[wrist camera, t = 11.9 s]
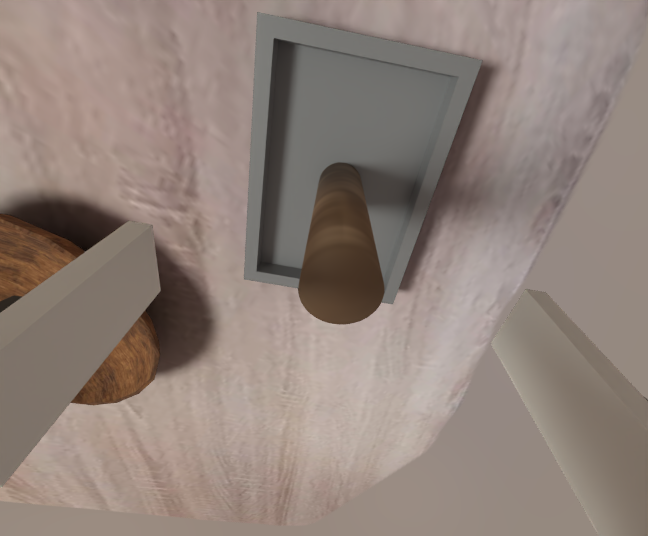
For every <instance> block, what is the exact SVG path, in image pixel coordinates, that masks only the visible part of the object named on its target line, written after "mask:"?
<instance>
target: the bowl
mask: <svg viewBox="0 0 648 536" xmlns="http://www.w3.org/2000/svg"><path fill="white" fill-rule="evenodd" d="M83 253H85V251H84V250H83V249H81V248H80V247H78V246H77V245H75V244H74V243H72V242H71V241H69V240H67V239H65V238H62V237H60V236H58V235H55V234H53V233H51V232H48V231H46V230H44V229H41V228H39V227H37V226H34V225H32V224H29V223H27V222H25V221H22V220H20V219H18V218H15V217H13V216H11V215H5V214H0V301H2V300H4V299H7V298H9V297H11V296H14V295H16V296H22V297H23V296H25V295H26V294H27V293H29V292H30V291H31V290H33V289H34V288H36V287H37V286H38V285H40V284H41V283H43V282H44V281H45V280H47V279H48V278H50V277H51V276H52V275H54V274H55V273H57V272H58V271H59V270H61V269H62V268H64V267H65V266H66V265H68V264H69V263H71V262H72V261H73V260H75V259H76V258H78V257H79V256H80V255H82V254H83ZM159 357H160V351H159V340H158V337H157V334H156V331H155V329H154V326H153V323H152V320H151V318H150V317H149V315H148V314H147V312H146V311H144V312H143V313H142V315H141V316H140V317H139V318H138V319H137V321H136V322H135V323H134V324H133V326H132V327H131V328H130V329H129V331H128V332H127V333H126V334H125V336H124V337H123V338H122V339H121V341H120V342H119V343H118V344H117V345H116V347H115V348H114V349H113V350H112V352H111V353H110V354H109V355H108V357H107V358H106V359H105V360H104V362H103V363H102V364H101V365H100V367H99V368H98V369H97V370H96V371H95V373H94V374H93V375H92V376H91V378H90V379H89V380H88V381H87V383H86V384H85V385H84V386H83V388H82V389H81V390H80V391H79V393H78V394H77V395H76V396H75V398H74V399H73V400H72V401H71V402H70V403H78V404H87V405H99V404H109V403H117V402H119V401H122V400H124V399H127V398H129V397H132V396H134V395H136V394H139V393H140V392H141V391H142V390H143V389H144V388H145V387H146V386H148V385H149V384H150V383H151V382H152V381H153V380H154V378H155V374H156V370H157V365H158V361H159Z"/></svg>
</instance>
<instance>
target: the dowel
mask: <svg viewBox="0 0 648 536" xmlns="http://www.w3.org/2000/svg"><path fill="white" fill-rule="evenodd" d="M384 290H385V289H384V281H383V277H382V272H381V268H380V263H379V259H378V254H377V250H376V245H375V241H374V236H373V231H372V227H371V222H370V218H369V213H368V209H367V204H366V200H365V195H364V191H363V186H362V182H361V177H360V175H359V173H358V171H357V170H356V169H355V168H354V167H353V166H351V165H350V164H347V163H342V162H338V163H334V164H331V165H329V166H328V167H327V168H325V170H324V171H323V172H322V174H321V176H320V179H319V184H318V189H317V194H316V199H315V204H314V209H313V214H312V219H311V224H310V229H309V234H308V240H307V245H306V250H305V255H304V260H303V265H302V270H301V275H300V280H299V286H298V292H299V297H300V300H301V302H302V304H303V306H304V307H305V308H306V310H307V311H308V312H309V313H310V314H312V315H313V316H314V317H316V318H318V319H320V320H322V321H325V322H328V323H332V324H350V323H355V322H358V321H361V320H363V319H365V318H367V317H368V316H370V315H371V314H372V313H373V312H375V311H376V309H377V308H378V307H379V305H380V304H381V302H382V300H383V296H384Z"/></svg>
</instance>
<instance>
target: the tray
mask: <svg viewBox="0 0 648 536" xmlns="http://www.w3.org/2000/svg"><path fill="white" fill-rule="evenodd" d="M482 61H483V60H478V59H474V58H469V57H464V56H460V55H455V54H450V53H446V52H441V51H437V50H432V49H427V48H423V47H418V46H413V45H409V44H404V43H399V42H395V41H390V40H385V39H381V38H376V37H371V36H367V35H362V34H357V33H353V32H348V31H343V30H339V29H334V28H329V27H325V26H320V25H315V24H311V23H306V22H301V21H297V20H292V19H287V18H283V17H278V16H273V15H269V14H264V13H260V12H257V28H256V48H255V68H254V88H253V108H252V128H251V148H250V168H249V188H248V208H247V228H246V247H245V267H244V279H246V280H251V281H257V282H263V283H269V284H275V285H281V286H287V287H293V288H298V286H299V280H300V275H301V270H302V265H303V260H304V255H305V250H306V245H307V240H308V234H309V229H310V224H311V219H312V214H313V209H314V204H315V199H316V194H317V189H318V184H319V179H320V176H321V174H322V172H323V171H324V170H325V168H327V167H328V166H329V165H331V164H334V163H338V162H342V163H347V164H350V165H351V166H353V167H354V168H355V169H356V170H357V171H358V173H359V175H360V177H361V182H362V186H363V191H364V195H365V200H366V204H367V209H368V213H369V218H370V222H371V227H372V231H373V236H374V241H375V245H376V250H377V254H378V259H379V263H380V268H381V272H382V277H383V281H384V289H385V290H384V296H383V300H382V303H388V304H393V302H394V300H395V297H396V294H397V292H398V289H399V286H400V283H401V281H402V278H403V275H404V273H405V270H406V267H407V264H408V262H409V259H410V256H411V254H412V251H413V248H414V245H415V243H416V240H417V237H418V235H419V232H420V229H421V226H422V224H423V221H424V218H425V216H426V213H427V210H428V207H429V205H430V202H431V199H432V196H433V194H434V191H435V188H436V186H437V183H438V180H439V177H440V175H441V172H442V169H443V167H444V164H445V161H446V158H447V156H448V153H449V150H450V148H451V145H452V142H453V139H454V137H455V134H456V131H457V129H458V126H459V123H460V120H461V118H462V115H463V112H464V109H465V107H466V104H467V101H468V99H469V96H470V93H471V90H472V88H473V85H474V82H475V80H476V77H477V74H478V71H479V69H480V66H481V63H482Z"/></svg>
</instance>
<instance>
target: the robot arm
mask: <svg viewBox="0 0 648 536" xmlns="http://www.w3.org/2000/svg"><path fill="white" fill-rule="evenodd" d="M160 291H161V288H160V280H159V273H158V265H157V257H156V250H155V242H154V234H153V227H152V225H150V224H144V223H138V222H133V221H128V222H126V223H125V224H124V225H122V226H121V227H119V228H118V229H117V230H115V231H114V232H112V233H111V234H110V235H108V236H107V237H106V238H104V239H103V240H101V241H100V242H99V243H97V244H96V245H94V246H93V247H92V248H90V249H89V250H87V251H86V252H85V253H83V254H82V255H80V256H79V257H78V258H76V259H75V260H73V261H72V262H71V263H69V264H68V265H66V266H65V267H64V268H62V269H61V270H59V271H58V272H57V273H55V274H54V275H52V276H51V277H50V278H48V279H47V280H45V281H44V282H43V283H41V284H40V285H38V286H37V287H36V288H34V289H33V290H31V291H30V292H29V293H27V294H26V295H25V296H23V297H22V296H16V295H14V296H11V297H9V298H7V299H4V300H2V301H0V487H3V485H4V484H5V483H6V482H7V480H8V479H9V478H10V477H11V476H12V474H13V473H14V472H15V471H16V469H17V468H18V467H19V466H20V464H21V463H22V462H23V461H24V459H25V458H26V457H27V456H28V454H29V453H30V452H31V451H32V450H33V448H34V447H35V446H36V445H37V443H38V442H39V441H40V440H41V438H42V437H43V436H44V435H45V433H46V432H47V431H48V430H49V428H50V427H51V426H52V425H53V424H54V422H55V421H56V420H57V419H58V417H59V416H60V415H61V414H62V412H63V411H64V410H65V409H66V407H67V406H68V405H69V404H70V402H71V401H72V400H73V399H74V398H75V396H76V395H77V394H78V393H79V391H80V390H81V389H82V388H83V386H84V385H85V384H86V383H87V381H88V380H89V379H90V378H91V376H92V375H93V374H94V373H95V371H96V370H97V369H98V368H99V367H100V365H101V364H102V363H103V362H104V360H105V359H106V358H107V357H108V355H109V354H110V353H111V352H112V350H113V349H114V348H115V347H116V345H117V344H118V343H119V342H120V341H121V339H122V338H123V337H124V336H125V334H126V333H127V332H128V331H129V329H130V328H131V327H132V326H133V324H134V323H135V322H136V321H137V319H138V318H139V317H140V316H141V315H142V313H143V312H144V311H145V310H146V308H147V307H148V306H149V305H150V303H151V302H152V301H153V300H154V298H155V297H156V296H157V295H158V293H159V292H160ZM491 344H492V347H493V348H494V350H495V352H496V354H497V355H498V357H499V359H500V361H501V362H502V364H503V366H504V368H505V370H506V372H507V373H508V375H509V377H510V379H511V380H512V382H513V384H514V386H515V388H516V389H517V391H518V393H519V395H520V396H521V398H522V400H523V402H524V403H525V405H526V407H527V409H528V410H529V413H530V414H531V416H532V418H533V420H534V422H535V423H536V425H537V427H538V429H539V431H540V432H541V434H542V436H543V438H544V439H545V441H546V443H547V445H548V447H549V448H550V450H551V452H552V453H553V455H554V457H555V459H556V461H557V463H558V464H559V466H560V468H561V470H562V472H563V473H564V475H565V477H566V479H567V480H568V482H569V484H570V486H571V488H572V489H573V491H574V493H575V495H576V497H577V498H578V500H579V502H580V504H581V505H582V507H583V509H584V511H585V513H586V514H587V516H588V518H589V520H590V522H591V523H592V525H593V527H594V529H595V531H596V532H597V534H598V536H648V400H647V399H646V398H645V397H643V396H642V395H641V393H640V392H639V391H638V390H637V389H636V388H635V387H634V386H633V385H632V384H631V383H630V382H629V381H628V380H627V379H626V378H625V376H624V375H623V374H622V373H621V372H620V371H619V370H618V369H617V368H616V367H615V366H614V365H613V364H612V363H611V362H610V360H609V359H607V357H606V356H605V355H604V354H603V353H602V352H601V351H600V350H599V349H598V348H597V347H596V345H595V344H594V343H593V342H592V341H591V340H590V339H589V338H588V337H587V336H586V335H585V334H584V333H583V332H582V331H581V329H580V328H578V326H577V325H576V324H575V323H574V322H573V321H572V320H571V319H570V318H569V317H568V316H567V314H565V312H564V311H563V310H562V309H561V308H560V307H559V306H558V305H557V304H556V303H555V302H554V301H553V300H552V299H551V298H550V296H549V295H548V294H547V293H545V292H540V291H535V290H529V289H525V291H524V292H523V294H522V295H521V297H520V298H519V300H518V302H517V303H516V305H515V306H514V308H513V309H512V311H511V312H510V314H509V316H508V317H507V319H506V320H505V322H504V323H503V325H502V326H501V328H500V329H499V331H498V333H497V334H496V336H495V337H494V339H493V340H492V342H491Z"/></svg>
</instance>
